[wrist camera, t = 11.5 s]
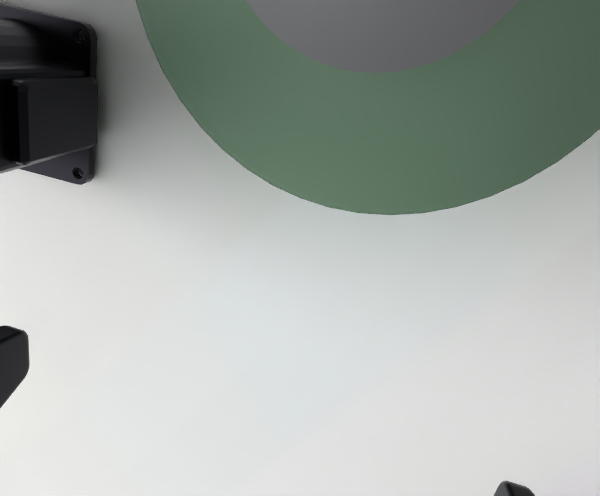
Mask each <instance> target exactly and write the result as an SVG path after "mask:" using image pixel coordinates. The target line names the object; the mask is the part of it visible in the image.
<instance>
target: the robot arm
mask: <svg viewBox="0 0 600 496" xmlns="http://www.w3.org/2000/svg"><path fill="white" fill-rule="evenodd" d="M81 31H83V33H84V35H85V40H84V42H82V41H81V40H80V36H79V35H80V32H81ZM96 58H97V36H96V32H95V30H94V29H93V27H92V26H91V25H89V24H87V23H84V22H80V21H75V20H71V19H66V18H62V17H57V16H53V15H48V14H44V13H39V12H35V11H30V10H26V9H21V8H17V7H12V6H8V5H3V4H0V174H1V173H4V172H8V171H11V170H15V169H22V170H26V171H30V172H33V173H37V174H41V175H45V176H48V177H52V178H56V179H60V180H63V181H67V182H71V183H75V184H81V185H82V184H84V183H87V182H89V181H91V180H92V179H93V176H94V147H95V144H96V141H97V100H98V85H97V83H96ZM78 168H80V169H81V170H82V172H83V176H81V175H80V174H79V172H78ZM28 369H29V342H28V335H27V333H26V332H25V331H23V330H20V329H17V328H14V327H11V326H0V408H1V407H2V406H3V404H4V403H5V402H6V401H7V399H8V398H9V397H10V396H11V394H12V393H13V392H14V391H15V389H16V388H17V387H18V386H19V384H20V383H21V382H22V381H23V379H24V378H25V376H26V374H27V372H28ZM494 496H535V495H534V494H533V492H532V491H531V490H530V489H529V488H527V487H525V486H522V485H519V484H516V483H512V482H509V481H503V482H502V483H501V484H500V485H499V486H498V488H497V490H496V492H495V494H494Z"/></svg>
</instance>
